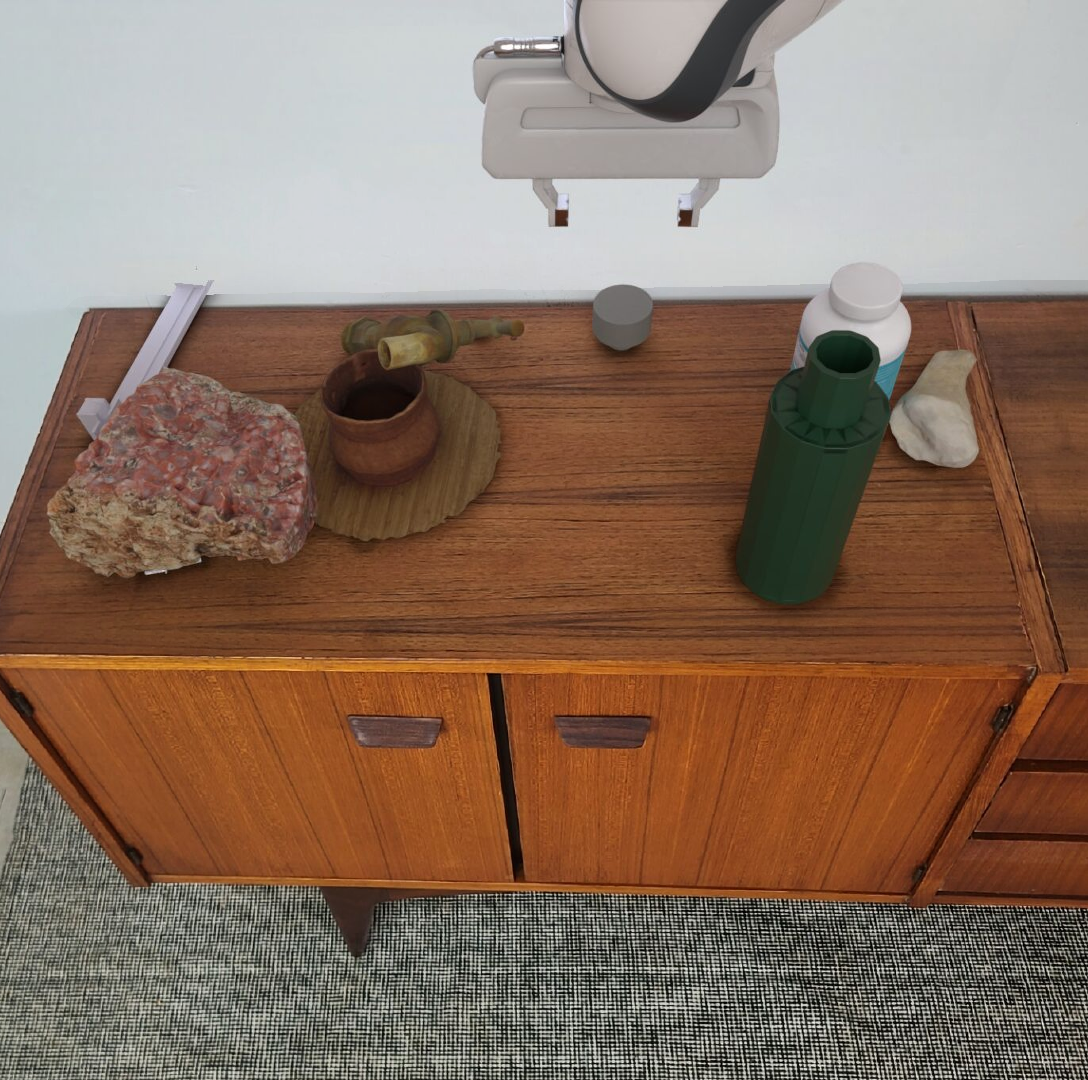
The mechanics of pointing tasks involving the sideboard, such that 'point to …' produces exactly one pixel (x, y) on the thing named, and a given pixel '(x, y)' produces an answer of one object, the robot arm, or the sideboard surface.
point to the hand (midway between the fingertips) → (622, 222)
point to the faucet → (421, 337)
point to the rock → (187, 481)
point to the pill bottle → (861, 316)
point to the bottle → (812, 468)
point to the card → (159, 570)
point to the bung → (622, 316)
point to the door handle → (149, 353)
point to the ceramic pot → (395, 447)
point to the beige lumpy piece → (938, 413)
